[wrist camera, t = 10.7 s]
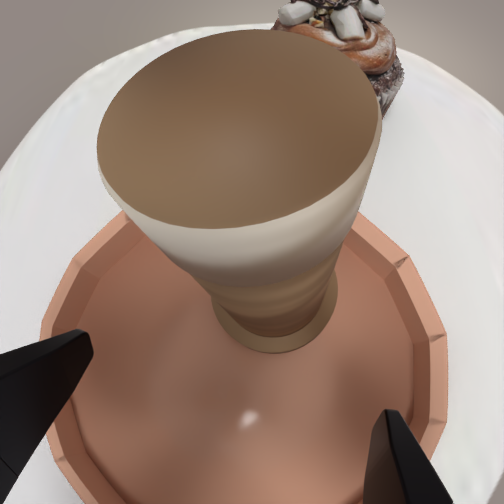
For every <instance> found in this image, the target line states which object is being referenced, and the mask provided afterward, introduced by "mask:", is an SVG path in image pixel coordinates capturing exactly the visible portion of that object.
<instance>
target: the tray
mask: <svg viewBox="0 0 504 504" xmlns="http://www.w3.org/2000/svg"><path fill="white" fill-rule="evenodd" d="M334 270H335V272H336V277H337V282H338V297H337V302H336V306H335V309H334V312H333V314H332V316H331V318H330V320H329V322H328V323H327V325H326V326H325V328H324V329H323V331H322V332H321V333H320V334H319V335H318V336H317V337H316V338H315V339H314V340H313V341H311V342H310V343H308V344H307V345H305V346H303V347H301V348H299V349H297V350H294V351H291V352H286V353H279V354H270V353H262V352H258V351H255V350H252V349H250V348H248V347H246V346H244V345H242V344H241V343H239V342H238V341H236V340H235V339H234V338H232V337H231V336H230V335H229V334H228V333H227V332H226V331H225V330H224V328H223V327H222V326H221V324H220V323H219V321H218V319H217V317H216V315H215V313H214V310H213V306H212V302H211V296H210V295H209V294H208V293H207V292H206V291H205V290H204V289H203V287H202V286H201V285H200V284H199V283H198V282H197V281H196V280H195V279H194V278H193V277H192V276H191V275H190V274H189V273H188V272H186V271H184V270H182V269H181V268H180V267H178V266H177V265H176V264H175V263H173V262H172V261H171V260H170V259H169V258H168V257H167V256H166V255H165V254H164V253H163V252H162V251H161V250H160V249H159V248H158V247H157V246H156V245H155V244H154V243H153V242H152V241H151V240H150V238H149V237H148V236H147V235H146V234H145V233H144V232H143V231H142V230H141V229H140V228H139V227H138V226H137V225H136V224H135V223H134V221H133V220H132V219H131V218H130V217H129V216H128V215H127V214H126V213H125V212H124V211H123V210H122V211H121V212H120V213H119V214H118V215H117V216H116V217H114V218H113V219H112V220H111V221H110V222H109V223H108V224H107V225H106V226H105V227H104V228H103V229H102V230H101V231H100V232H98V233H97V234H96V235H95V236H94V237H93V238H92V239H91V240H90V241H89V242H88V243H87V244H86V245H85V246H84V247H83V248H82V249H81V250H80V251H79V252H78V253H77V254H76V255H75V256H74V257H73V258H72V260H71V262H70V264H69V266H68V268H67V270H66V271H65V273H64V275H63V277H62V279H61V281H60V283H59V285H58V287H57V289H56V292H55V294H54V296H53V298H52V300H51V302H50V304H49V306H48V309H47V311H46V313H45V315H44V317H43V320H42V324H41V331H40V339H39V341H42V340H45V339H48V338H51V337H54V336H57V335H60V334H63V333H66V332H68V331H71V330H74V329H81V330H84V331H86V332H88V333H89V335H90V339H91V342H92V346H93V350H94V356H93V358H92V360H91V362H90V364H89V365H88V367H87V369H86V371H85V373H84V374H83V376H82V378H81V380H80V382H79V383H78V385H77V387H76V389H75V390H74V392H73V394H72V395H71V397H70V398H69V400H68V401H67V403H66V404H65V406H64V407H63V408H62V410H61V411H60V413H59V414H58V416H57V417H56V419H55V420H54V422H53V423H52V425H51V426H50V428H49V429H48V431H47V432H46V436H47V439H48V442H49V445H50V449H51V452H52V455H53V458H54V461H55V463H56V464H57V466H58V467H59V469H60V470H61V472H62V473H63V475H64V476H65V477H66V479H67V480H68V482H69V483H70V484H71V486H72V487H73V489H74V490H75V491H76V493H77V494H78V495H79V497H80V498H81V499H82V501H83V502H84V503H85V504H362V503H363V489H364V478H365V471H366V465H367V459H368V453H369V446H370V439H371V432H372V429H373V426H374V424H375V423H376V421H377V419H378V417H379V416H380V414H381V412H382V411H383V410H384V409H394V410H398V411H399V412H400V414H401V415H402V417H403V419H404V420H405V422H406V423H407V425H408V427H409V428H410V430H411V431H412V433H413V435H414V436H415V438H416V440H417V441H418V443H419V444H420V446H421V448H422V449H423V451H424V453H425V454H426V456H427V458H428V459H429V461H430V459H431V457H432V455H433V453H434V451H435V449H436V447H437V444H438V442H439V440H440V437H441V435H442V433H443V430H444V428H445V425H446V423H447V409H448V350H447V333H446V331H445V329H444V326H443V324H442V322H441V320H440V317H439V315H438V313H437V311H436V308H435V306H434V304H433V302H432V300H431V298H430V296H429V294H428V291H427V289H426V287H425V285H424V283H423V281H422V279H421V277H420V275H419V273H418V271H417V269H416V267H415V266H414V264H413V262H412V260H411V258H410V256H409V255H408V254H407V253H406V252H405V251H404V250H402V249H401V248H400V247H399V246H398V245H397V244H396V243H395V242H394V241H392V240H391V239H390V238H389V237H388V236H387V235H386V234H384V233H383V232H382V231H381V230H380V229H379V228H377V227H376V226H375V225H374V224H373V223H372V222H370V221H369V220H368V219H367V218H366V217H364V216H363V215H362V214H361V213H360V212H358V213H357V216H356V218H355V221H354V223H353V225H352V227H351V229H350V231H349V232H348V234H347V235H346V237H345V238H344V242H343V245H342V248H341V250H340V253H339V256H338V259H337V262H336V265H335V268H334Z"/></svg>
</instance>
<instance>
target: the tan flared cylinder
mask: <svg viewBox="0 0 504 504" xmlns="http://www.w3.org/2000/svg"><path fill="white" fill-rule="evenodd" d="M381 132H382V114H381V109H380V104H379V101H378V99H377V96H376V94H375V91H374V89H373V87H372V85H371V82H370V81H369V79H368V78H367V76H366V75H365V73H364V72H363V71H362V70H361V69H360V67H359V66H358V65H357V64H356V63H355V62H354V61H352V60H351V59H350V58H349V57H348V56H346V55H345V54H343V53H342V52H340V51H339V50H337V49H336V48H334V47H332V46H330V45H328V44H326V43H324V42H322V41H319V40H316V39H314V38H311V37H308V36H304V35H300V34H296V33H291V32H286V31H278V30H262V29H253V30H238V31H230V32H224V33H219V34H214V35H210V36H207V37H203V38H200V39H197V40H194V41H191V42H188V43H186V44H183V45H181V46H179V47H177V48H175V49H172V50H171V51H169V52H167V53H165V54H163V55H161V56H160V57H158V58H157V59H155V60H153V61H152V62H150V63H149V64H148V65H146V66H145V67H144V68H142V69H141V70H140V71H139V72H137V73H136V74H135V75H134V76H133V77H132V78H131V79H130V80H129V81H128V82H127V83H126V84H125V85H124V86H123V87H122V88H121V89H120V91H119V92H118V93H117V95H116V96H115V97H114V99H113V100H112V102H111V103H110V105H109V107H108V109H107V110H106V112H105V114H104V117H103V119H102V122H101V124H100V128H99V133H98V137H97V161H98V169H99V173H100V176H101V179H102V182H103V184H104V186H105V188H106V189H107V191H108V193H109V195H110V196H111V197H112V198H113V199H114V201H115V202H116V203H117V204H118V205H119V206H120V207H121V208H122V210H123V211H124V212H125V213H126V214H127V215H128V216H129V217H130V218H131V219H132V220H133V221H134V223H135V224H136V225H137V226H138V227H139V228H140V229H141V230H142V231H143V232H144V233H145V234H146V235H147V236H148V237H149V238H150V240H151V241H152V242H153V243H154V244H155V245H156V246H157V247H158V248H159V249H160V250H161V251H162V252H163V253H164V254H165V255H166V256H167V257H168V258H169V259H170V260H171V261H172V262H173V263H175V264H176V265H177V266H178V267H180V268H181V269H182V270H184V271H186V272H188V273H189V274H190V275H191V276H192V277H193V278H194V279H195V280H196V281H197V282H198V283H199V284H200V285H201V286H202V287H203V289H204V290H205V291H206V292H207V293H208V294H209V295H210V296H211V302H212V306H213V310H214V313H215V315H216V317H217V319H218V321H219V323H220V324H221V326H222V327H223V328H224V330H225V331H226V332H227V333H228V334H229V335H230V336H231V337H232V338H234V339H235V340H236V341H238V342H239V343H241V344H242V345H244V346H246V347H248V348H250V349H252V350H255V351H258V352H262V353H270V354H279V353H286V352H291V351H294V350H297V349H299V348H301V347H303V346H305V345H307V344H308V343H310V342H311V341H313V340H314V339H315V338H316V337H317V336H318V335H319V334H320V333H321V332H322V331H323V329H324V328H325V326H326V325H327V323H328V322H329V320H330V318H331V316H332V314H333V312H334V309H335V306H336V302H337V297H338V282H337V277H336V272H335V270H334V268H335V265H336V262H337V259H338V256H339V253H340V250H341V248H342V245H343V242H344V238H345V237H346V235H347V234H348V232H349V231H350V229H351V227H352V225H353V223H354V221H355V218H356V216H357V213H358V210H359V207H360V204H361V201H362V198H363V195H364V192H365V189H366V185H367V182H368V179H369V176H370V173H371V169H372V166H373V163H374V159H375V156H376V153H377V149H378V146H379V142H380V137H381Z"/></svg>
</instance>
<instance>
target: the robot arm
mask: <svg viewBox="0 0 504 504" xmlns="http://www.w3.org/2000/svg"><path fill="white" fill-rule="evenodd" d="M93 356H94V350H93V346H92V342H91V339H90V335H89V333H88V332H86V331H84V330H81V329H74V330H71V331H68V332H66V333H63V334H60V335H57V336H54V337H51V338H48V339H45V340H42V341H39V342H36V343H33V344H30V345H27V346H24V347H21V348H18V349H15V350H12V351H9V352H6V353H3V354H0V504H3V503H4V501H5V499H6V497H7V496H8V494H9V492H10V491H11V489H12V487H13V485H14V484H15V482H16V480H17V479H18V476H19V475H20V473H21V472H22V470H23V469H24V467H25V465H26V464H27V462H28V461H29V459H30V457H31V456H32V454H33V453H34V451H35V449H36V448H37V446H38V445H39V443H40V442H41V440H42V439H43V437H44V435H45V434H46V432H47V431H48V429H49V428H50V426H51V425H52V423H53V422H54V420H55V419H56V417H57V416H58V414H59V413H60V411H61V410H62V408H63V407H64V406H65V404H66V403H67V401H68V400H69V398H70V397H71V395H72V394H73V392H74V390H75V389H76V387H77V385H78V383H79V382H80V380H81V378H82V376H83V374H84V373H85V371H86V369H87V367H88V365H89V364H90V362H91V360H92V358H93ZM362 504H453V500H452V499H451V497H450V495H449V493H448V492H447V490H446V488H445V486H444V485H443V483H442V481H441V480H440V478H439V476H438V475H437V473H436V471H435V469H434V468H433V466H432V464H431V463H430V461H429V459H428V458H427V456H426V454H425V453H424V451H423V449H422V448H421V446H420V444H419V443H418V441H417V440H416V438H415V436H414V435H413V433H412V431H411V430H410V428H409V427H408V425H407V423H406V422H405V420H404V419H403V417H402V415H401V414H400V412H399V411H398V410H394V409H384V410H383V411H382V412H381V414H380V416H379V417H378V419H377V421H376V423H375V424H374V426H373V429H372V432H371V439H370V446H369V453H368V459H367V465H366V471H365V478H364V489H363V503H362Z"/></svg>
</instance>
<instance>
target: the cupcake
mask: <svg viewBox="0 0 504 504" xmlns="http://www.w3.org/2000/svg"><path fill="white" fill-rule="evenodd" d="M278 14H279V18H278V19H277V20H276V22H275V24H274V26H273V27H272V28H271V30H278V31H286V32H291V33H296V34H300V35H304V36H308V37H311V38H314V39H316V40H319V41H322V42H324V43H326V44H328V45H330V46H332V47H334V48H336V49H337V50H339V51H340V52H342V53H343V54H345V55H346V56H348V57H349V58H350V59H351V60H352V61H354V62H355V63H356V64H357V65H358V66H359V67H360V69H361V70H362V71H363V72H364V73H365V75H366V76H367V78H368V79H369V81H370V82H371V85H372V87H373V89H374V91H375V94H376V96H377V99H378V101H379V104H380V109H381V114H382V119H383V117H384V115H385V113H386V111H387V110H388V108H389V106H390V105H391V103H392V101H393V99H394V97H395V96H396V94H397V92H398V90H399V89H400V87H401V85H402V84H403V83H402V82H403V80H404V77H403V76H404V72H403V70H404V69H403V68H401V63H400V61H399V58H398V57H397V55H396V46H395V39H394V37H393V36H392V34H391V32H390V31H389V30H388V29H387V28H386V27H385V26H384V25H383V24H381V23H380V21H381V20H382V19H383V18H384V16H385V8H383V7H382V6H381V5H380V4H379V1H378V0H291V2H289V3H288V4H286V5H284V6H283V7H281V8H280V9H279V10H278Z"/></svg>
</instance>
